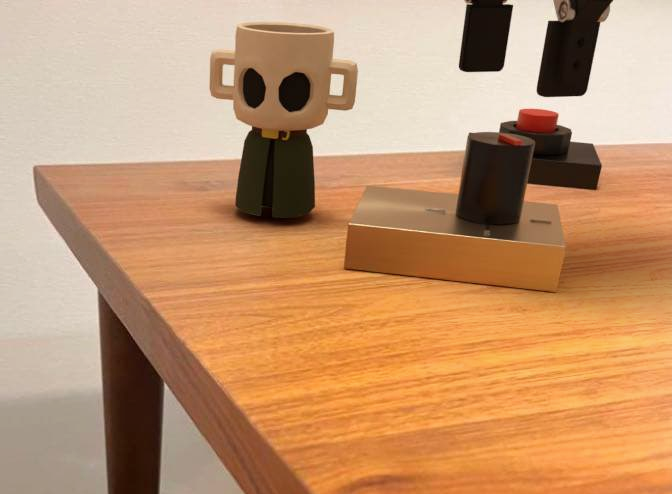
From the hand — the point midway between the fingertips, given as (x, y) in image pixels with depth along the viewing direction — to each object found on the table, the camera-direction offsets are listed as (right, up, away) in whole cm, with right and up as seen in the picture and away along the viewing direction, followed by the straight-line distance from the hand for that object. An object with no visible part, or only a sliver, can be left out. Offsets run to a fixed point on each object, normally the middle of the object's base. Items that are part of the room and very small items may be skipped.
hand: (518, 82), depth 62 cm
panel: (-3, -9, +7) cm, 12 cm away
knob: (-1, -7, +5) cm, 8 cm away
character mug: (-15, -4, +14) cm, 21 cm away
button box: (+9, +6, +30) cm, 32 cm away
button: (+9, +9, +28) cm, 31 cm away
